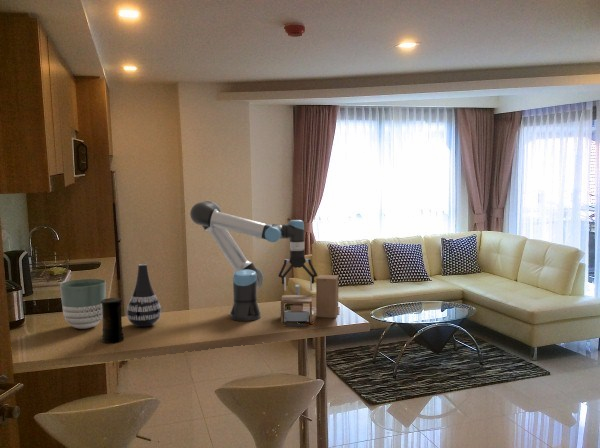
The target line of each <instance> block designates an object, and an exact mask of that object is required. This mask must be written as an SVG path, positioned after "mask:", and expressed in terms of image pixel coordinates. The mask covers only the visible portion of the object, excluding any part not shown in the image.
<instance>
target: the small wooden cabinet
mask: <svg viewBox="0 0 600 448" xmlns="http://www.w3.org/2000/svg"><path fill="white" fill-rule="evenodd" d="M295 295H300V284H295ZM287 322H306V323H310V310H303V312H291V310H284V320H283V323H287Z"/></svg>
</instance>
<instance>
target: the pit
mask: <svg viewBox="0 0 600 448" xmlns="http://www.w3.org/2000/svg"><path fill="white" fill-rule="evenodd" d="M301 323H302V322H301ZM301 323H300V322H298V323H296V322H295V323H293V322H292V323H291V322H290V323H287V322H285V327H287V328H288V327H291V328H294V327H297V328H300V327H301V328H303V327H306V328H307V326H308V325H307V324H308V322H306V324H301Z"/></svg>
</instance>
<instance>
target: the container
mask: <svg viewBox="0 0 600 448" xmlns="http://www.w3.org/2000/svg"><path fill="white" fill-rule="evenodd" d="M101 303H102V308H103V309H102V315H103V318H102V336H101V342H102V344H107V345H108V344H117V343H118V344H119V343H121V342H123V341H124V333H123V326H122V325H123V323H122V322H123V321H122V298H121V297H108V298H106V299H103V300H102V301H101Z"/></svg>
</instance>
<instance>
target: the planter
mask: <svg viewBox="0 0 600 448" xmlns="http://www.w3.org/2000/svg"><path fill="white" fill-rule="evenodd" d="M59 288H60V297H61V305H62V312H63V313H62V314H63V316H64V318H65V319H64V320H65V321H66V322H67V323H68V324H69V325H70V326H71V327H73V328H74V329H75V328H76V329H79V330H85V329H90V328H94V327H95V326H97V325H98V324H99V323H100V322H101V321H102V320H103V315H102V309H103V308H102V303H101V301H102V300H103V299H107V298H106V297H107V296H106V293H107V292H106V290H107V289H106V288H107V281H106V280H105V279H102V278H81V279H72V280H67V281H64V282H61V283H60V284H59Z"/></svg>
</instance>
